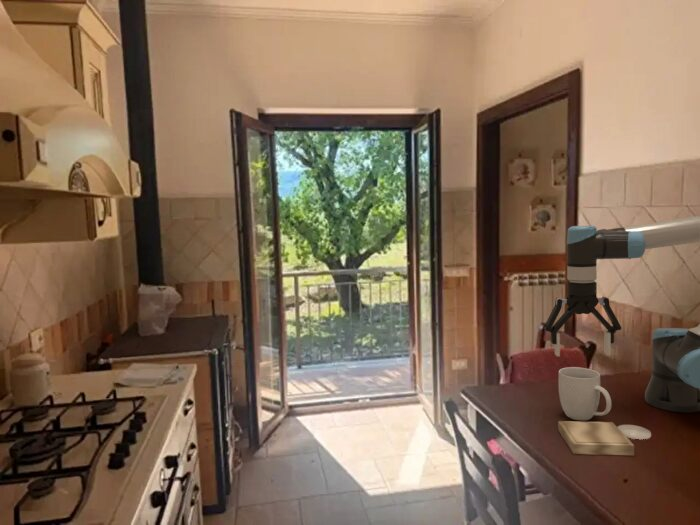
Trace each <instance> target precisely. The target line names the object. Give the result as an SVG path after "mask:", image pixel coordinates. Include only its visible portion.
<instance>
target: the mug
mask: <svg viewBox="0 0 700 525" xmlns="http://www.w3.org/2000/svg"><path fill="white" fill-rule="evenodd" d="M601 393H602V395H603V396H604V398H605V405H606V406H605V410H604V411H602V412H601V411H598V407H599V404H600V397H601ZM558 396H559V401H560V406H561V408H562V410H563V412H564V414H565V415H566V417H567V418H569V419H572V420H575V421H578V422H587V421H589V420H591V419H593V417H594V416H597V417H598V416H599V417H600V416H606V415H607V414H609V413H610V411H611V409H612V399H611V395H610V393H609V392H608V390H606V388H604V387H603V386H601V374H600V373H599V372H598V371H596V370H593V369H591V368H586V367H585V368H584V367H580V366H579V367H578V366H570V367H563V368H560V369H559V370H558Z"/></svg>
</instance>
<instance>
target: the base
mask: <svg viewBox="0 0 700 525" xmlns="http://www.w3.org/2000/svg"><path fill="white" fill-rule="evenodd" d="M617 427H618V425H616V424H615V423H614V422H613V421H570V420H568V421H567V420H566V421H565V420H564V421H563V420H559V421H558V422H557V429H558V430H557V431H558V432H559V433H560V435H561V437H562V438H563V440H564V441H565V443H566V445H567V446H568V448H569V450H570V451H571V453H572V454H573V455H597V456H598V455H599V456H604V455H605V456H607V455H608V456H635V445H634V443H633V442H632V441H631V439H630V438H627V437H626V436H625V435H624V434H623V433H622V432H621V431H620V430H619V429H618V428H617Z"/></svg>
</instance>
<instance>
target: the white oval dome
mask: <svg viewBox="0 0 700 525" xmlns="http://www.w3.org/2000/svg"><path fill="white" fill-rule="evenodd" d="M617 428H618V429H619V430H620V431H621V432H622V433H623V434H624V435H625V436H626V437H627V438H628V439H630V438H631V439H630V440H635V439H639V440H640V441H646V440H650V438H651V437H652V432H651V430H649V429H647V428H645V427H643V426H639V425H636V424H635V425H634V424H620V425H617ZM643 439H644V440H643ZM645 439H646V440H645ZM639 440H638V441H639Z"/></svg>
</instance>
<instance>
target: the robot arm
mask: <svg viewBox="0 0 700 525" xmlns="http://www.w3.org/2000/svg"><path fill="white" fill-rule="evenodd" d="M695 243H700V215H695V216H689V217H688V216H687V217H682V218H677V219H669V220H663V221H662V220H661V221H656V222H650V223H649V222H647V223H643V224H642V223H641V224H636V225H635V224H634V225H629V226H622V227H615V228H614V227H613V228H610V229H609V228H608V229H606V228H603V229H602V228H601V229H597V226H595V225H574V226H573V225H572V226H570V227H569V228H568V229H567V237H566V255H567V256H566V257H567V258H566V262H567V264H566V265H567V268H566V269H567V270H566V271H567V275H566V276H567V280H568V282H567V286H566V288H567V290H566V292H567V293H566V294H567V297H566V298H560V297H556V298H555V301H554V307H553V308H552V311H551V312H550V315H549V316H548V318H547V320H546V322H545V324H544V326H543V329H544V330H545V331H546V332H549V333H550V343H551V344H552V345H554V355H555V356H556V357H561V344H560V343H561V337H560V336H561V334H560V333H559V331H560V330H561V328H562V327H563V326H564V325H565V324H566V323H567V322H568V321H569V319H570V318H571V317H572V316H574V315H582V314H583V315H584V314H585V315H589V314H590V313H591V314H592V315H593V316H594V317H595V318H596V319H597V321H598V322H599V323H600V324H602V326H603V327H604V328H605V329H606V330H604V331H603V332H604V334H603V339H604V340H603V347H604V348H603V350H604V351H603V352H604V353H603V354H604V355H606V356H607V357H611V356H612V355H611V349H612V348H611V344H614V342H615V334H616V332H617V331H621V330H622V326H621V324H620V322H619V320H618V319H617V316H616V315H615V313H614V311H613V309H612V307H611V305H610V298H609V297H606V296H602V297H597V293H598V292H597V286H598V285H597V282H596V281H597V278H598V277H597V260H619V259H620V260H623V259H625V260H626V259H627V260H631V259H639V258H641V257H643V256H644V255H645V252H646V250H650V249H658V248H664V247H665V248H667V247H672V246H673V247H674V246H680V245H687V244H688V245H689V244H695ZM565 304H566V305H567V308H566V309H565V311H564V313H563V314H562V315H561V316H560V317H559V318H558V320H557V321H556V319H557V317H558V316H559V314H560V312H561V309H562V308H563V307H564V306H565ZM598 304H599V305H601V306H602V308H603V309H604V312H605V313H606V315H607V317H608V319H609V321H610V323H611V324H612V325H611V324H610V323H609V321H607V319H606V318H605V317H604V316H603V315H602V314H601V313H600V312H599V311H598V309H597V308H596V307H597V305H598ZM651 341H652V342H651V345H652V347H651V348H652V349H651V350H652V351H651V377H650V380H649V381H648V385H647V387H646V389H645V392H644V401H645V402H646V403H647V404H648V405H650V406H652V407H654V408H658V409H660V410H663V411H669V412H676V413H687V414H689V413H698V412H700V323H699V324H698V325H697V326H695V327H691V328H683V327H680V328H679V327H678V328H677V327H660V328H656V329H654V330H653V331H652V338H651Z"/></svg>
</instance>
